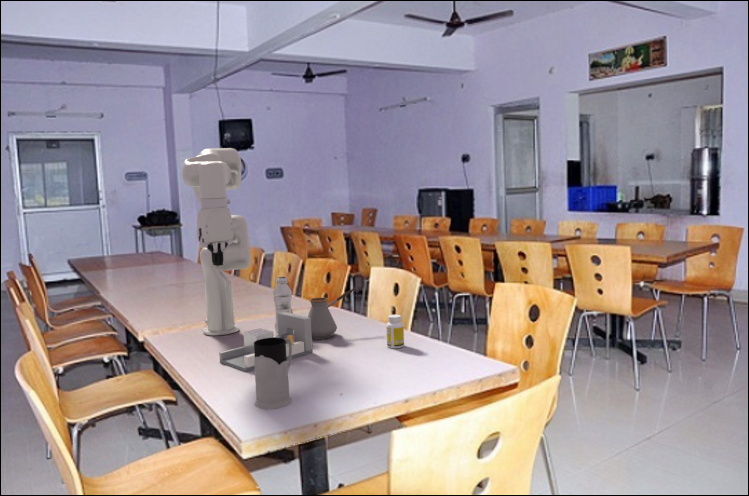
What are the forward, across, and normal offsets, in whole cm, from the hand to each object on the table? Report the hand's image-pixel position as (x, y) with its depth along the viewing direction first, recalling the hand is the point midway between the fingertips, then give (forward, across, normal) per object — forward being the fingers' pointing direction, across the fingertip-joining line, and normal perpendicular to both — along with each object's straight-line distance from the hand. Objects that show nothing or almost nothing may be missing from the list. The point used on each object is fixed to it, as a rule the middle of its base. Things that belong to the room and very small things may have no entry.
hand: (218, 264), depth 181 cm
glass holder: (+27, +10, +43) cm, 52 cm away
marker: (+24, -12, +18) cm, 32 cm away
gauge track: (+28, -8, +12) cm, 32 cm away
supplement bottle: (+28, -41, +34) cm, 60 cm away
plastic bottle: (+30, -28, -7) cm, 41 cm away
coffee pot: (+29, -39, +6) cm, 49 cm away
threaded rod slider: (+27, -10, +13) cm, 32 cm away
